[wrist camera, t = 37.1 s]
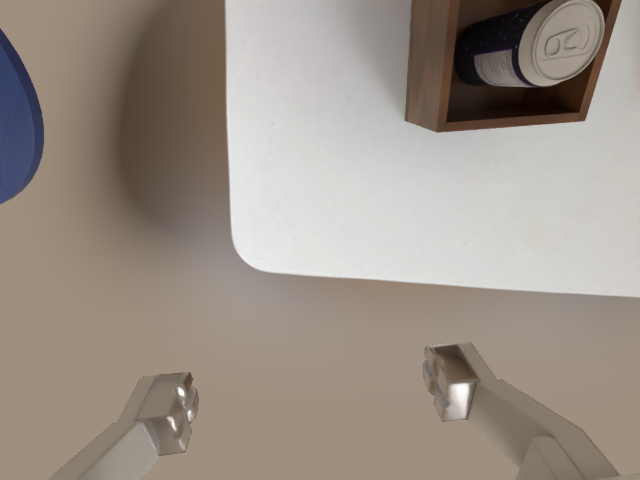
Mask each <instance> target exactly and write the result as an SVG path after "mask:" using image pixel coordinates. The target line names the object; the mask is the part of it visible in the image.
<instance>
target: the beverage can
mask: <svg viewBox="0 0 640 480" xmlns="http://www.w3.org/2000/svg"><path fill="white" fill-rule="evenodd" d="M604 28H605V23H604V16H603V13H602V11H601V9H600V7H599V6H598V5H597V4H596V3H595V2H594V1H592V0H546V1H542V2H539V3H536V4H533V5H530V6H526V7H523V8H520V9H517V10H514V11H510V12H507V13H504V14H501V15H498V16H495V17H491V18H488V19H485V20H482V21H479V22H477V23H475V24H473V25H472V26H471V27H470V28H468V29H467V30H466V32H465V33H464V34H463V35H462V37H461V39H460V40H459V42H458V45H457V47H456V51H455V59H454V61H455V68H456V71H457V74H458V75H459V77H460V78H461V79H462V80H463V81H464V82H466V83H467V84H470V85H480V86H512V87H550V86H553V85H556V84H558V83H560V82H562V81H564V80H567V79H570V78H572V77H574V76H576V75H577V74H579V73H580V72H581V71H582V70H584V69H585V68H586V67H587V66H588V64H589V63H590V62H591V61H592V59H593V58H594V57H595V55H596V53H597V52H598V50H599V47H600V45H601V42H602V39H603V35H604Z"/></svg>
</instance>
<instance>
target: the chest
mask: <svg viewBox="0 0 640 480" xmlns="http://www.w3.org/2000/svg"><path fill="white" fill-rule="evenodd" d="M542 1H546V0H412V10H411V27H410V44H409V61H408V78H407V95H406V112H405V121H407V122H410V123H412V124H415V125H418V126H421V127H423V128H426V129H429V130H432V131H434V132H437V133H438V132H451V131H464V130H477V129H490V128H503V127H516V126H529V125H542V124H554V123H567V122H580V121H585V119H586V116H587V113H588V109H589V106H590V103H591V100H592V96H593V93H594V90H595V86H596V83H597V80H598V77H599V73H600V70H601V67H602V64H603V60H604V57H605V54H606V50H607V47H608V44H609V41H610V37H611V34H612V31H613V27H614V24H615V21H616V18H617V14H618V11H619V8H620V4H621V1H622V0H592V1H594V2H595V3H596V4H597V5H598V6H599V7H600V9H601V11H602V13H603V16H604V23H605V28H604V35H603V39H602V42H601V45H600V47H599V50H598V52H597V53H596V55H595V57H594V58H593V59H592V61H591V62H590V63H589V64H588V66H587V67H586V68H585V69H584V70H582V71H581V72H580V73H579V74H577V75H576V76H574V77H572V78H570V79H567V80H564V81H562V82H560V83H558V84H556V85H553V86H550V87H512V86H480V85H470V84H467V83H466V82H464V81H463V80H462V79H461V78H460V77H459V75H458V74H457V71H456V68H455V61H454V59H455V51H456V47H457V45H458V42H459V40H460V39H461V37H462V35H463V34H464V33H465V32H466V30H467V29H468V28H470V27H471V26H472V25H473V24H475V23H477V22H479V21H482V20H485V19H488V18H491V17H495V16H498V15H501V14H504V13H507V12H510V11H514V10H517V9H520V8H523V7H526V6H530V5H533V4H536V3H539V2H542Z"/></svg>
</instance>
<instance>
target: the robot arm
mask: <svg viewBox="0 0 640 480" xmlns="http://www.w3.org/2000/svg"><path fill="white" fill-rule="evenodd" d="M425 357H426V359H427V360H426V361H425V362H424V363H423V376H424V381H425V384H426V386H427V389H428V391H429V392H430V393H431V394H433V395H434V396H435V398H434V405H435V407H436V409H437V412H438V414H439V416H440V418H441V421H442V422H447V421H458V420H468V422H469V423H470V424H471V425H472V426H473V427H474V428H476V429H477V430H478V431H479V432H480V433H481V434H482V435H483V436H484V437H486V438H487V439H488V440H489V441H490V442H491V443H492V444H493V445H494V446H495V447H496V448H498V449H499V450H500V451H501V452H502V453H503V454H504V455H505V456H506V457H508V458H509V459H510V460H511V461H512V462H513V463H514V464H515V465H516V466H517V467H518V468H520V470H519V472H518V475H517V477H516V480H640V473H639V474H631V475H623V476H621V475H620V474H619V473H618V472H617V470H616V469H615V468H614V467H613V466H612V464H611V463H610V462H609V461H608V460H607V458H606V457H605V456H604V455H603V454H602V452H601V451H600V450H599V449H598V447H597V446H596V445H595V444H594V443H593V442H592V440H591V439H590V438H589V437H588V435H587V434H586V433H585V432H584V431H583V429H581V428H579V427H578V426H576V425H574V424H573V423H571V422H570V421H568V420H567V419H565V418H563V417H562V416H560V415H558V414H557V413H555V412H553V411H552V410H550V409H549V408H547V407H546V406H544V405H542V404H541V403H539V402H537V401H536V400H534V399H533V398H531V397H529V396H528V395H526V394H524V393H523V392H521V391H520V390H518V389H516V388H515V387H513V386H512V385H510V384H508V383H507V382H505V381H504V380H497V379H496V377H495V376H494V374H493V373H492V371H491V370H490V368H489V367H488V365H487V364H486V363H485V361H484V360H483V358H482V357H481V356H480V354H479V353H478V351H477V350H476V348H475V347H474V346H473V344H472V343H471V342H469V341H467V342H458V343H448V344H440V345H432V346H426V348H425ZM192 381H193V378H192V375H191V373H190V372H185V373H173V374H161V375H151V376H143V377H142V378H141V379H140V380H139V381H138V383H137V385H136V387H135V389H134V391H133V393H132V395H131V397H130V399H129V401H128V402H127V404H126V406H125V408H124V410H123V412H122V414H121V416H120V418H119V420H118V422H117V423H113V424H111V425H110V426H109V427H108V428H107V429H105V430H104V431H103V432H102V433H101V434H100V435H98V437H96V438H95V439H94V440H93V441H92V442H91V443H89V444H88V445H87V446H86V447H85V448H84V449H82V450H81V451H80V452H79V453H78V454H77V455H75V457H73V458H72V459H71V460H70V461H69V462H67V463H66V464H65V465H64V466H63V467H62V468H61V469H59V470H58V471H57V472H56V473H55V474H54V475H53V476H51V477H50V478H49V479H48V480H142V478H143V477H144V476H145V475H146V473H147V472H148V471H149V470H150V468H151V467H152V466H153V465H154V463H155V462H156V461H157V460H158V456H164V455H171V454H177V453H184V452H186V450H187V447H188V443H189V440H190V436H191V433H192V430H191V428H190V423H191V422H192V421H193V420H194V419H195V418H196V415H197V411H198V404H199V397H198V392H197V389H196V388H195V387H194V386H192V385H191V384H192Z"/></svg>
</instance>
